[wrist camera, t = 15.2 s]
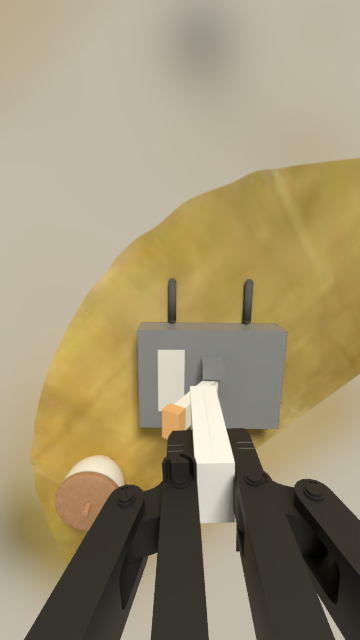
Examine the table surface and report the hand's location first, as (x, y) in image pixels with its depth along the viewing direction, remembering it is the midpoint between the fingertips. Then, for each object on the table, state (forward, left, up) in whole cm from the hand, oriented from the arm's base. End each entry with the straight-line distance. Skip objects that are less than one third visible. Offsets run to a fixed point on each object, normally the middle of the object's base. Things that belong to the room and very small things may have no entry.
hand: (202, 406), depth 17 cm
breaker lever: (-3, +10, -23) cm, 25 cm away
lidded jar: (+16, +30, -30) cm, 45 cm away
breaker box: (-3, +10, -30) cm, 32 cm away
